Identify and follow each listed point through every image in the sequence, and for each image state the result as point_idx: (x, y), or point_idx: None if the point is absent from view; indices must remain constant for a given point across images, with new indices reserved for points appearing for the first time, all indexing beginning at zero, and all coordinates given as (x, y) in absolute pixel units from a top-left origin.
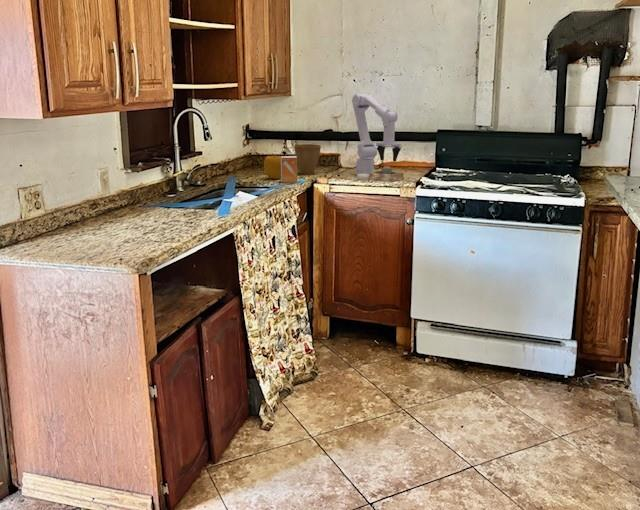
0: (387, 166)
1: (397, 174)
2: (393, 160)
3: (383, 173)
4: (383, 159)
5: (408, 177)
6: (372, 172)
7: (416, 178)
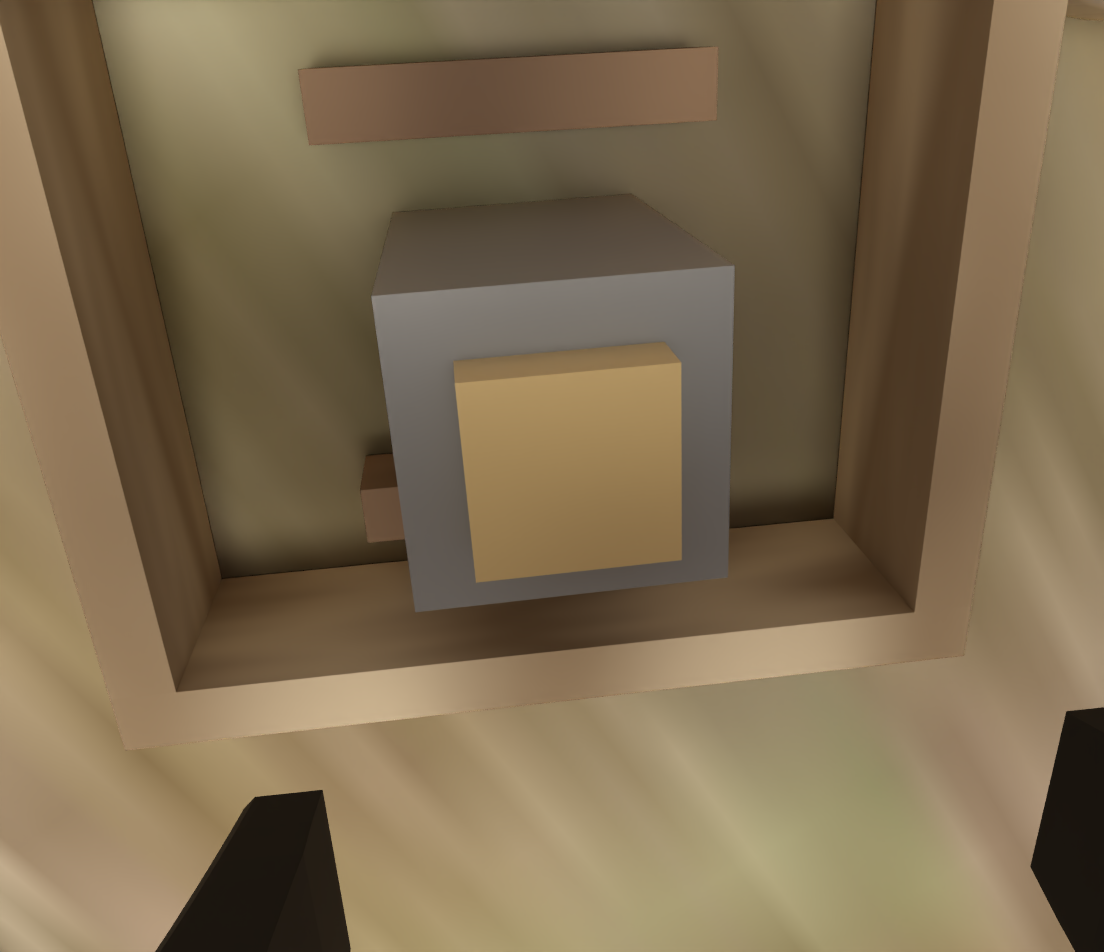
0: (571, 503)
1: (11, 330)
2: (281, 825)
3: (601, 228)
4: (1055, 884)
5: None
6: (1039, 84)
7: (14, 879)
